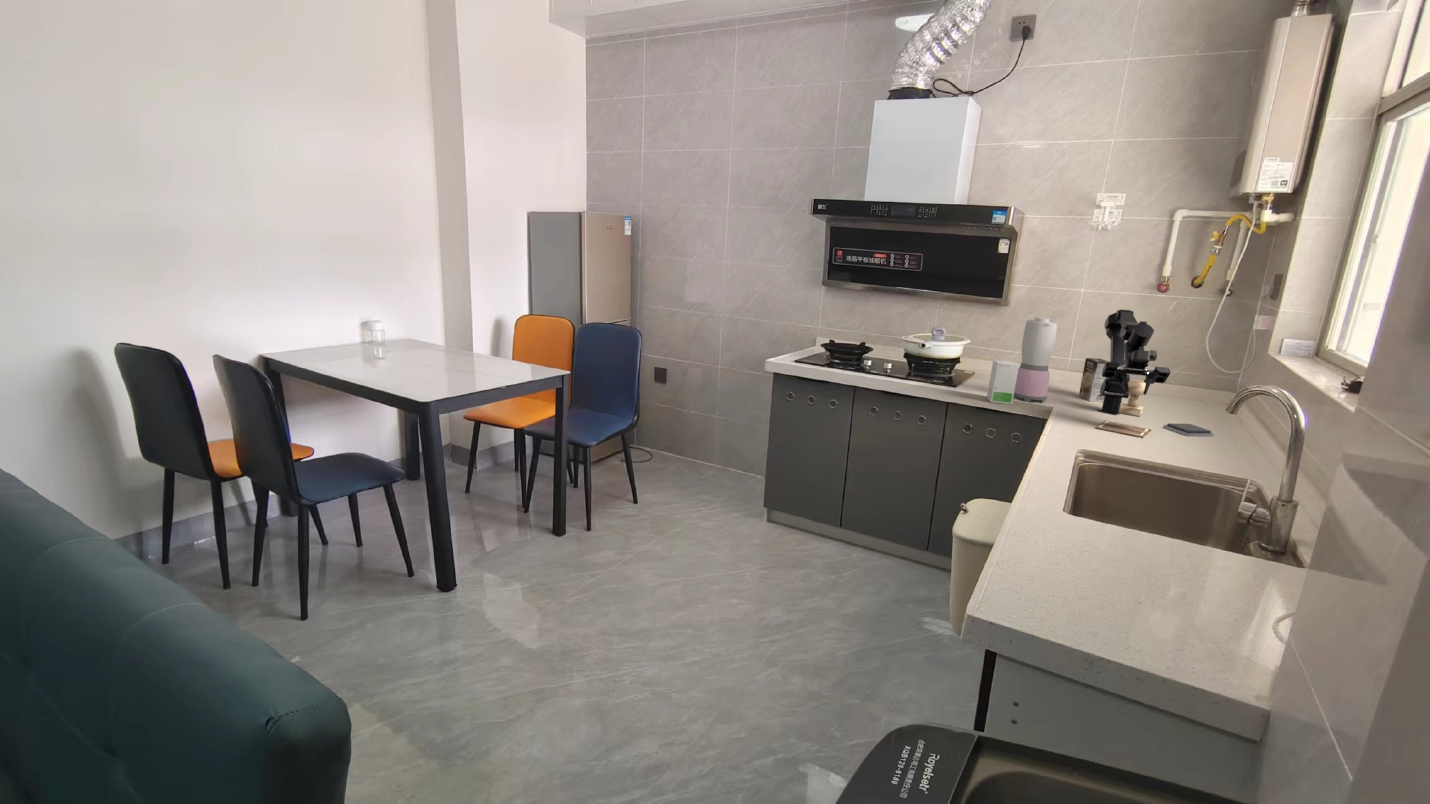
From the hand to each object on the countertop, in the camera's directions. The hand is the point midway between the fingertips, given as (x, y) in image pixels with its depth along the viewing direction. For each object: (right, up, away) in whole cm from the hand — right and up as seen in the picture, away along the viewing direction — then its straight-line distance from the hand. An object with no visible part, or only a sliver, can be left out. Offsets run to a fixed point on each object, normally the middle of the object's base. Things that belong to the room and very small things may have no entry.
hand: (1135, 393), depth 221 cm
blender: (-15, -2, +46) cm, 48 cm away
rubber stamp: (0, -7, +3) cm, 8 cm away
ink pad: (+21, -13, +6) cm, 26 cm away
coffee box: (+13, -2, +50) cm, 52 cm away
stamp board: (-1, -12, +5) cm, 13 cm away
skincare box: (-29, -3, +37) cm, 47 cm away
